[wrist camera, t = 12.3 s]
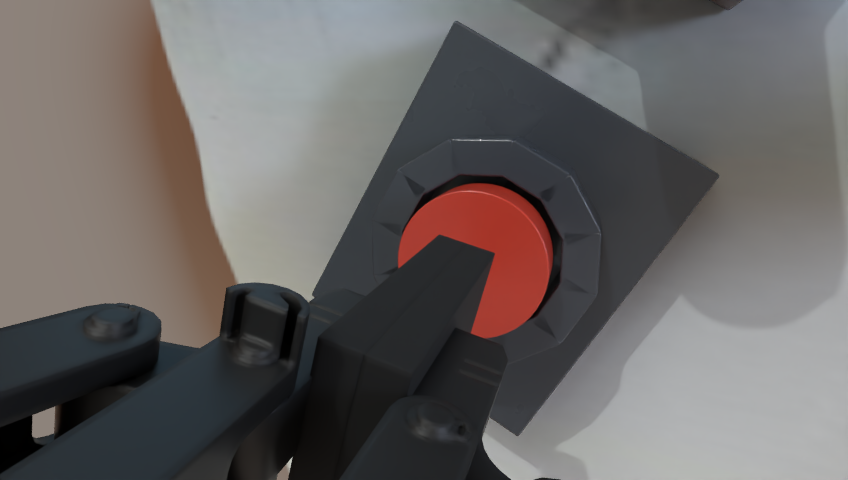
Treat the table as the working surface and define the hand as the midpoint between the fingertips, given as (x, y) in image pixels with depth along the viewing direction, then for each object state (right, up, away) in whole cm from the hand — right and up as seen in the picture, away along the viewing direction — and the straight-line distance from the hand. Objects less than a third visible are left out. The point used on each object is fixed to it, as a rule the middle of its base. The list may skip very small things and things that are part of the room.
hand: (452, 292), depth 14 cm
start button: (+1, +1, +5) cm, 5 cm away
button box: (+2, +2, +8) cm, 9 cm away
